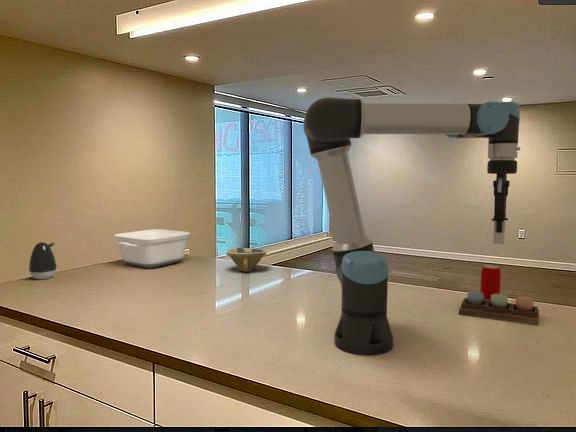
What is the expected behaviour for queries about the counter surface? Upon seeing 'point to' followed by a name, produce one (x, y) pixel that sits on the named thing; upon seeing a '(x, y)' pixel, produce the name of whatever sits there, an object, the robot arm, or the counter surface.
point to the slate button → (475, 297)
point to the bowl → (246, 258)
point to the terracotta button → (524, 303)
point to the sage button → (499, 300)
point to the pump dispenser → (42, 261)
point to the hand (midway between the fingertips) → (498, 243)
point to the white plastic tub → (152, 247)
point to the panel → (499, 312)
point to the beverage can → (490, 281)
